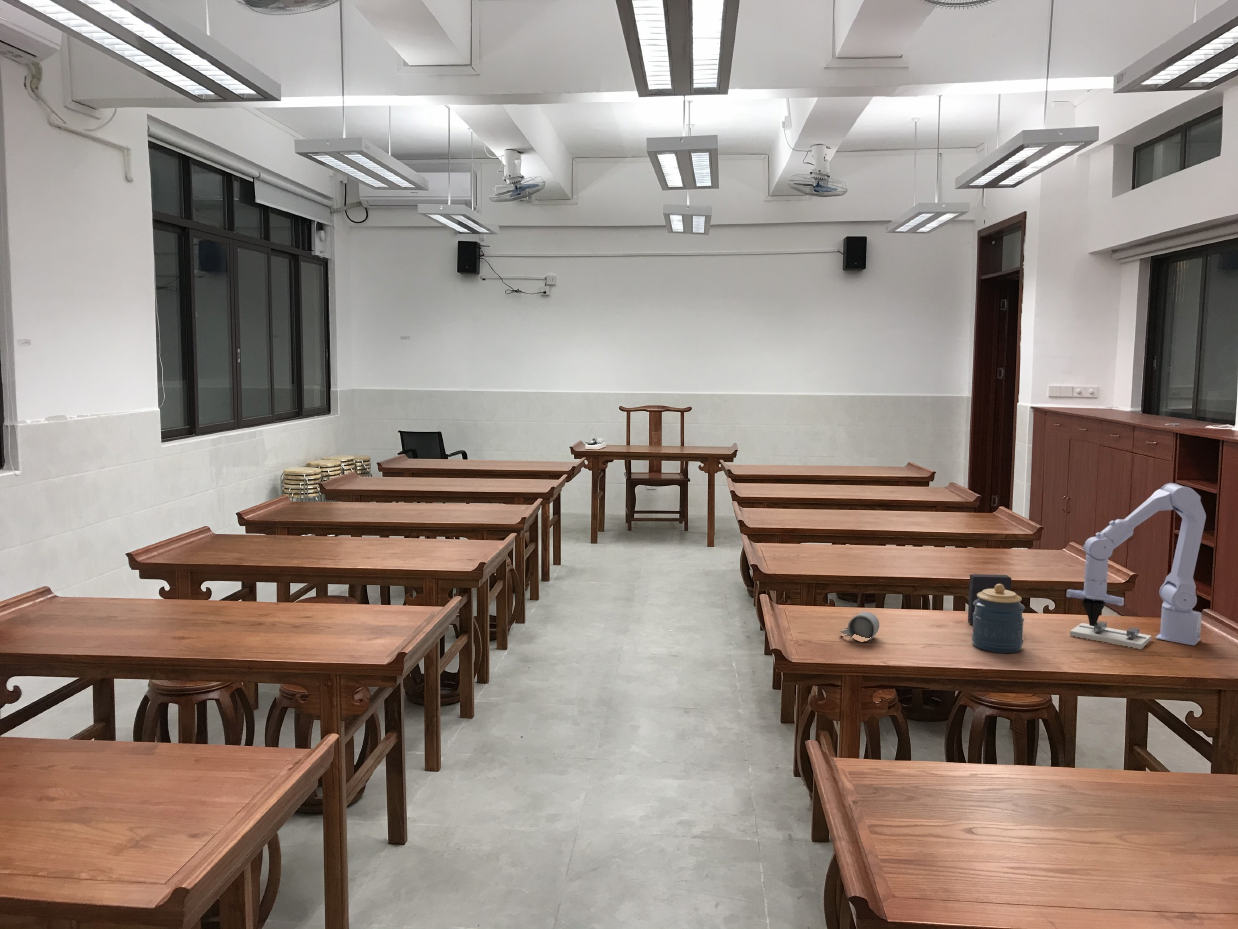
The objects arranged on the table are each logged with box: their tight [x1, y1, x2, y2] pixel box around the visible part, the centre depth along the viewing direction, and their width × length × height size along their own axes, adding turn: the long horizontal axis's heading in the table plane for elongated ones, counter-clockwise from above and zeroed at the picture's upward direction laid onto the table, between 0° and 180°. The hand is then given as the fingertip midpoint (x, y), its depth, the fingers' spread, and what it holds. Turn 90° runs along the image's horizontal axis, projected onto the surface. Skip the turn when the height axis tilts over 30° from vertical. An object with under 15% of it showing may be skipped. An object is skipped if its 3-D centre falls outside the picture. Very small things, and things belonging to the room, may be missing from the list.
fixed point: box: [1126, 626, 1140, 638], centre depth 245 cm, size 2×6×2 cm, turn 136°
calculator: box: [967, 573, 1012, 626], centre depth 262 cm, size 11×4×15 cm, turn 84°
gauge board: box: [1069, 622, 1152, 650], centre depth 249 cm, size 18×11×2 cm, turn 46°
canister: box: [971, 584, 1025, 654], centre depth 240 cm, size 13×13×18 cm
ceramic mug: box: [839, 611, 880, 641], centre depth 248 cm, size 11×8×8 cm
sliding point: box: [1094, 620, 1108, 632], centre depth 250 cm, size 2×6×2 cm, turn 136°
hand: (1092, 625), depth 252 cm, fingers closed
